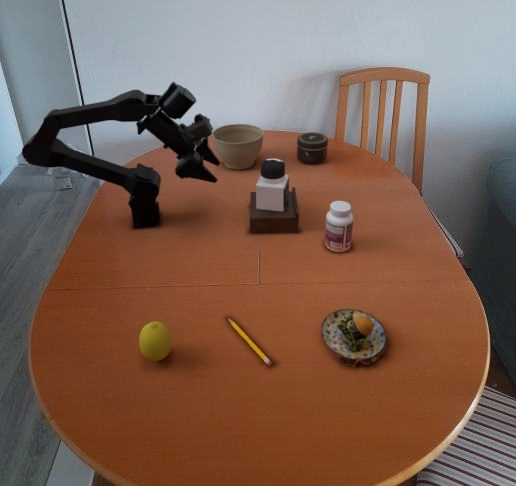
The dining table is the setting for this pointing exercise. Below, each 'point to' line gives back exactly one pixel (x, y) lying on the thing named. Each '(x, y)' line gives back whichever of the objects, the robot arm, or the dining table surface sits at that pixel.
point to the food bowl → (354, 336)
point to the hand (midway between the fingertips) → (217, 172)
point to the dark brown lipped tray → (275, 217)
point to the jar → (312, 147)
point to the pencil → (251, 343)
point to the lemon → (155, 341)
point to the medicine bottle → (272, 186)
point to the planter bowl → (238, 144)
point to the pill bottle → (339, 226)
